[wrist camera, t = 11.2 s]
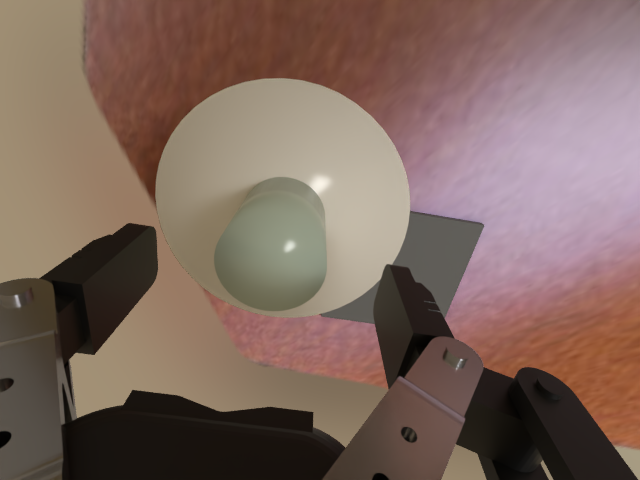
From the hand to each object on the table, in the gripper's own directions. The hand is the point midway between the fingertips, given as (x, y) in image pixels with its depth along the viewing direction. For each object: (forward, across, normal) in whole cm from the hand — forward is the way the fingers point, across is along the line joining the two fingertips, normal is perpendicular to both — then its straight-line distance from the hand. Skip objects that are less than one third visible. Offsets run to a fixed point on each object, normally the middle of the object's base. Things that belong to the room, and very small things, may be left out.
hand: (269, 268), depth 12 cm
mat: (+21, -12, +11) cm, 26 cm away
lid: (+6, 0, 0) cm, 6 cm away
